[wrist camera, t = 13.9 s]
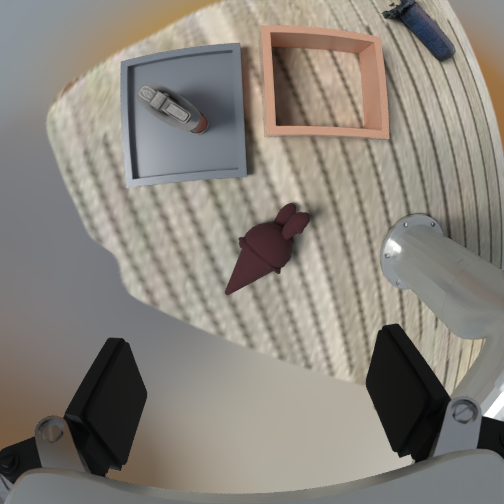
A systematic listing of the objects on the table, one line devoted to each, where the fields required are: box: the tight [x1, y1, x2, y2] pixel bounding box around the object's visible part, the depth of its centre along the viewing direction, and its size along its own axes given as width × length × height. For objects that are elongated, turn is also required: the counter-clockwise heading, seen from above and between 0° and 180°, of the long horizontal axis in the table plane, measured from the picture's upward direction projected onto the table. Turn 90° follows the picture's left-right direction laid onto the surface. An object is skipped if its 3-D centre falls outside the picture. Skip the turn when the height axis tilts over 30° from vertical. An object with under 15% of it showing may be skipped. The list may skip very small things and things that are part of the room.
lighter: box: [137, 82, 209, 135], centre depth 28 cm, size 8×3×10 cm, turn 53°
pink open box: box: [259, 25, 389, 140], centre depth 30 cm, size 15×14×6 cm
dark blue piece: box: [382, 0, 455, 61], centre depth 25 cm, size 9×8×12 cm
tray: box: [121, 43, 247, 188], centre depth 33 cm, size 16×18×2 cm
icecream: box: [225, 203, 310, 295], centre depth 37 cm, size 7×7×15 cm
